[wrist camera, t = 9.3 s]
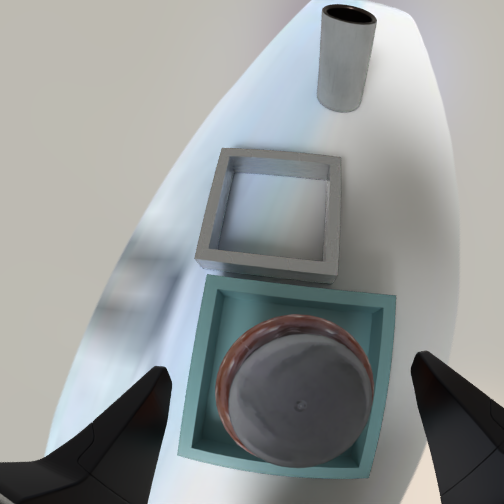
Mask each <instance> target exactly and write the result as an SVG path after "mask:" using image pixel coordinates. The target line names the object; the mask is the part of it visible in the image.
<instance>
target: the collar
mask: <svg viewBox="0 0 504 504" xmlns="http://www.w3.org/2000/svg"><path fill="white" fill-rule="evenodd" d="M234 172H237V173H253V174H266V175H278V176H289V177H299V178H309V179H318V180H327V191H326V214H325V232H324V247H323V261H322V262H321V261H312V260H304V259H295V258H286V257H277V256H268V255H259V254H250V253H241V252H233V251H224V250H217V249H218V244H219V239H220V234H221V230H222V225H223V220H224V215H225V211H226V206H227V201H228V197H229V192H230V188H231V183H232V179H233V174H234ZM340 213H341V157H333V156H325V155H316V154H307V153H297V152H286V151H273V150H258V149H238V148H222V149H221V153H220V156H219V160H218V164H217V167H216V171H215V175H214V179H213V183H212V187H211V191H210V194H209V198H208V203H207V207H206V211H205V215H204V219H203V223H202V227H201V232H200V236H199V240H198V245H197V249H196V254H195V258H194V259H195V260H196V261H197V263H198V264H199V265H200V266H201V267H202V268H203V269H210V270H217V271H225V272H233V273H241V274H249V275H257V276H265V277H274V278H282V279H291V280H299V281H308V282H317V283H327V284H332V283H333V282H334V280H335V279H336V277H337V276H338V261H339V242H340Z"/></svg>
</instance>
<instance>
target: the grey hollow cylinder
mask: <svg viewBox="0 0 504 504" xmlns="http://www.w3.org/2000/svg"><path fill="white" fill-rule="evenodd" d="M376 23H377V19H376V18H375V16H374V15H372V14H371V13H370V12H368V11H366V10H363V9H361V8H358V7H354V6H349V5H341V4H334V5H328V6H325V7H324V8H323V9H322V20H321V40H320V58H319V72H318V86H317V98H318V100H319V102H320V103H321V104H322V105H323V106H325V107H326V108H328V109H331V110H333V111H338V112H350V111H353V110H355V109H357V108H358V107H359V105H360V102H361V98H362V94H363V89H364V85H365V80H366V75H367V71H368V66H369V61H370V56H371V51H372V46H373V40H374V35H375V29H376Z"/></svg>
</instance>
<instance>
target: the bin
mask: <svg viewBox="0 0 504 504" xmlns="http://www.w3.org/2000/svg"><path fill="white" fill-rule="evenodd" d="M395 310H396V295H385V294H374V293H364V292H353V291H343V290H334V289H324V288H315V287H306V286H297V285H289V284H280V283H272V282H263V281H255V280H247V279H239V278H232V277H224V276H217V275H209V274H207V277H206V282H205V287H204V292H203V298H202V303H201V308H200V314H199V319H198V324H197V330H196V336H195V341H194V347H193V353H192V359H191V365H190V371H189V377H188V383H187V390H186V396H185V403H184V410H183V417H182V424H181V431H180V438H179V446H178V453H177V455H178V456H181V457H185V458H189V459H192V460H196V461H200V462H204V463H209V464H213V465H217V466H222V467H227V468H232V469H238V470H243V471H249V472H256V473H263V474H270V475H279V476H289V477H302V478H322V479H359V478H369V475H370V471H371V467H372V464H373V460H374V456H375V452H376V448H377V443H378V439H379V434H380V430H381V425H382V420H383V414H384V409H385V403H386V397H387V391H388V384H389V376H390V369H391V360H392V351H393V340H394V327H395ZM291 314H299V315H311V316H315V317H319V318H322V319H326V320H328V321H331V322H333V323H335V324H336V325H338V326H340V327H342V328H343V329H344V330H346V331H347V332H348V333H349V334H351V335H352V336H353V337H354V338H355V340H356V341H357V342H358V343H359V345H360V346H361V347H362V349H363V350H364V352H365V354H366V355H367V357H368V360H369V363H370V365H371V369H372V373H373V381H374V396H373V402H372V406H371V413H370V416H369V419H368V422H367V424H366V426H365V428H364V430H363V431H362V433H361V434H360V436H359V437H358V439H357V440H356V441H355V442H354V443H353V445H352V446H351V447H349V448H348V449H347V450H346V451H345V452H343V453H342V454H341V455H339V456H338V457H336V458H334V459H332V460H330V461H328V462H326V463H323V464H320V465H316V466H313V467H307V468H288V467H282V466H277V465H273V464H271V463H269V462H266V461H264V460H263V459H260V458H258V457H256V456H254V455H252V454H250V453H249V452H247V451H246V450H245V449H243V448H242V447H241V446H240V445H238V444H237V443H236V442H235V441H234V440H233V438H232V437H231V436H230V435H229V433H228V432H227V431H226V429H225V427H224V425H223V423H222V421H221V419H220V417H219V414H218V410H217V406H216V398H215V386H216V379H217V374H218V371H219V367H220V365H221V363H222V361H223V359H224V357H225V355H226V353H227V352H228V350H229V349H230V347H231V346H232V345H233V343H234V342H235V341H236V340H237V339H238V338H239V337H240V336H241V335H243V334H244V333H245V332H246V331H247V330H249V329H251V328H252V327H254V326H255V325H257V324H259V323H261V322H263V321H266V320H269V319H271V318H274V317H278V316H284V315H291Z"/></svg>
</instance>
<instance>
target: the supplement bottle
mask: <svg viewBox="0 0 504 504" xmlns="http://www.w3.org/2000/svg"><path fill="white" fill-rule="evenodd" d="M373 396H374V381H373V373H372V369H371V365H370V363H369V360H368V357H367V355H366V354H365V352H364V350H363V349H362V347H361V346H360V345H359V343H358V342H357V341H356V340H355V338H354V337H353V336H352V335H351V334H349V333H348V332H347V331H346V330H344V329H343V328H342V327H340V326H338V325H336V324H335V323H333V322H331V321H328V320H326V319H322V318H319V317H315V316H311V315H299V314H291V315H284V316H278V317H274V318H271V319H269V320H266V321H263V322H261V323H259V324H257V325H255V326H254V327H252V328H251V329H249V330H247V331H246V332H245V333H244V334H243V335H241V336H240V337H239V338H238V339H237V340H236V341H235V342H234V343H233V345H232V346H231V347H230V349H229V350H228V352H227V353H226V355H225V357H224V359H223V361H222V363H221V365H220V367H219V371H218V374H217V379H216V386H215V398H216V406H217V410H218V414H219V417H220V419H221V421H222V423H223V425H224V427H225V429H226V431H227V432H228V433H229V435H230V436H231V437H232V438H233V440H234V441H235V442H236V443H237V444H238V445H240V446H241V447H242V448H243V449H245V450H246V451H247V452H249V453H250V454H252V455H254V456H256V457H258V458H260V459H263V460H264V461H266V462H269V463H271V464H273V465H277V466H282V467H288V468H307V467H313V466H316V465H320V464H323V463H326V462H328V461H330V460H332V459H334V458H336V457H338V456H339V455H341V454H342V453H343V452H345V451H346V450H347V449H348V448H349V447H351V446H352V445H353V443H354V442H355V441H356V440H357V439H358V437H359V436H360V434H361V433H362V431H363V430H364V428H365V426H366V424H367V422H368V419H369V416H370V413H371V406H372V402H373Z"/></svg>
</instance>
